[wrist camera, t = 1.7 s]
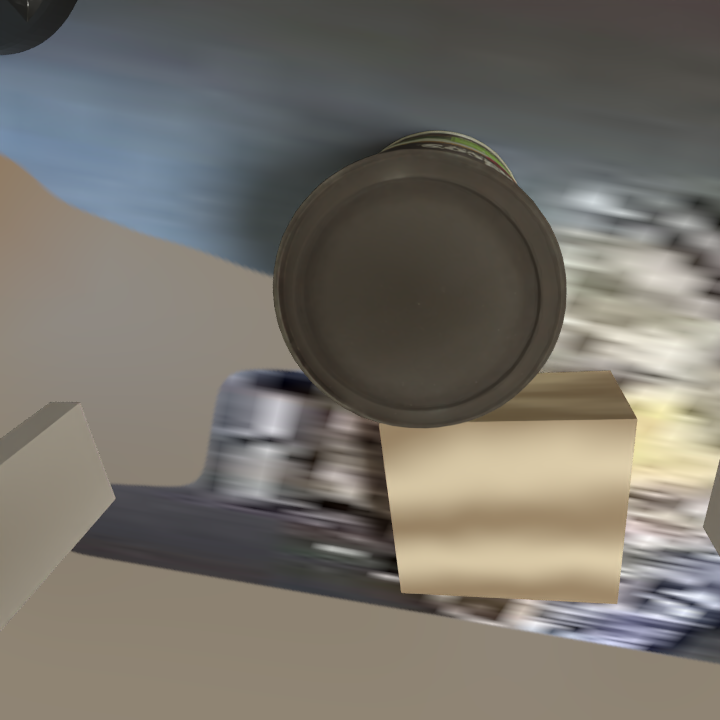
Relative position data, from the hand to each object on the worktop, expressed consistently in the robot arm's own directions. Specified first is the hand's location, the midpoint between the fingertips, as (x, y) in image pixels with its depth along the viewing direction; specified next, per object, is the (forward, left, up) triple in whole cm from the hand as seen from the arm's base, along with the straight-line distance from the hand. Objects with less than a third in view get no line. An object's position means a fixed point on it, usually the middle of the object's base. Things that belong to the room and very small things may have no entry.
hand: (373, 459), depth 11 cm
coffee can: (0, 0, -23) cm, 23 cm away
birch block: (+17, +4, -23) cm, 29 cm away
